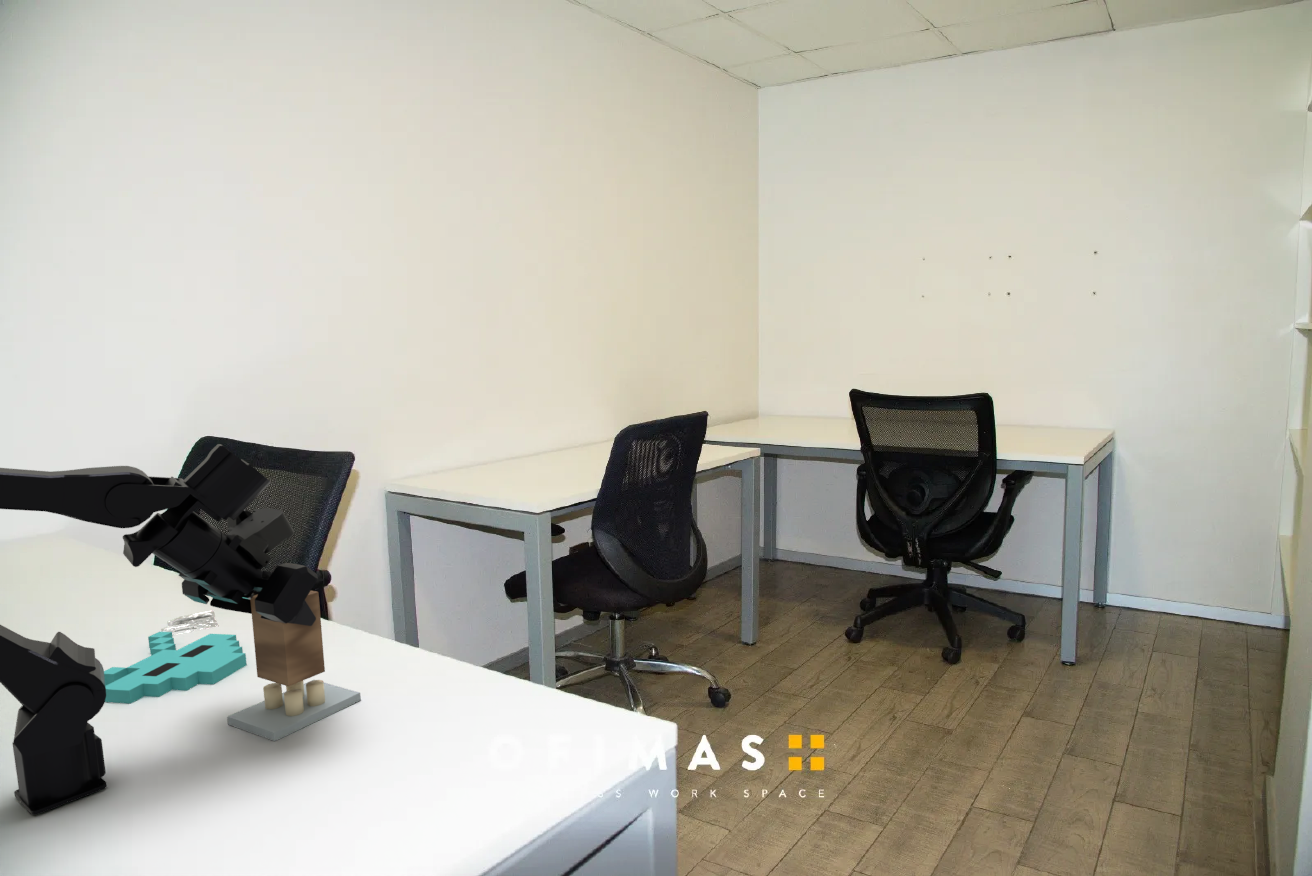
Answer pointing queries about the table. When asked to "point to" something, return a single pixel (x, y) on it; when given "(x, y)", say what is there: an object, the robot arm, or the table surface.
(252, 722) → the peg stand
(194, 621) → the crumpled silver wrapper
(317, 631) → the walnut block
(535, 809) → the table surface
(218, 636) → the alien figure
